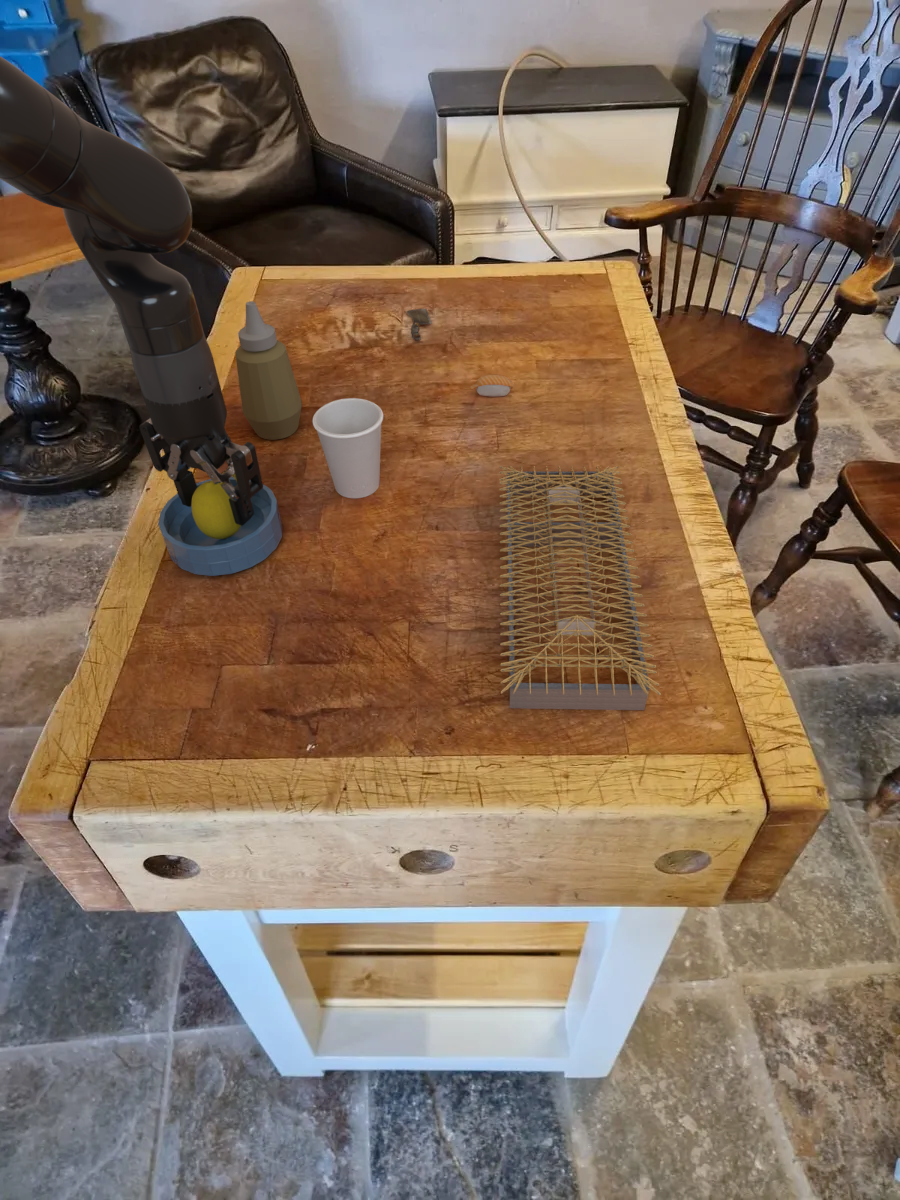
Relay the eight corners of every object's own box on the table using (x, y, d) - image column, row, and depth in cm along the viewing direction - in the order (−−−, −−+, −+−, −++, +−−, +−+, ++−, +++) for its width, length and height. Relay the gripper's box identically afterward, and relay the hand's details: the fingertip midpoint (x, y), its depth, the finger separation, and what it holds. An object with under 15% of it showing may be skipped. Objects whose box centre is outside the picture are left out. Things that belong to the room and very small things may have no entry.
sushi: (514, 398, 115) (514, 379, 112) (469, 398, 115) (469, 380, 113) (513, 388, 116) (514, 370, 114) (470, 389, 117) (469, 370, 115)
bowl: (236, 593, 88) (226, 563, 84) (145, 558, 92) (133, 528, 89) (305, 524, 96) (299, 494, 93) (219, 495, 100) (210, 465, 97)
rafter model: (499, 488, 100) (499, 447, 95) (615, 489, 99) (621, 447, 95) (500, 715, 75) (501, 673, 71) (655, 718, 74) (666, 675, 70)
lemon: (258, 529, 94) (244, 474, 89) (230, 558, 91) (214, 502, 85) (220, 517, 96) (204, 463, 91) (191, 545, 93) (172, 490, 87)
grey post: (437, 311, 135) (408, 311, 136) (437, 304, 134) (408, 304, 135) (424, 342, 127) (394, 341, 127) (424, 335, 126) (393, 334, 127)
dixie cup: (320, 471, 103) (307, 403, 96) (383, 460, 105) (376, 392, 98) (329, 510, 98) (317, 441, 90) (396, 498, 99) (389, 429, 92)
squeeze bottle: (318, 427, 111) (296, 301, 98) (271, 452, 107) (243, 324, 94) (282, 407, 115) (257, 283, 102) (236, 430, 111) (204, 305, 98)
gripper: (98, 382, 79) (147, 513, 91) (210, 416, 74) (247, 549, 86) (151, 349, 84) (191, 477, 96) (260, 378, 79) (288, 510, 91)
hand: (218, 511), depth 91 cm, fingers open, 7 cm apart
